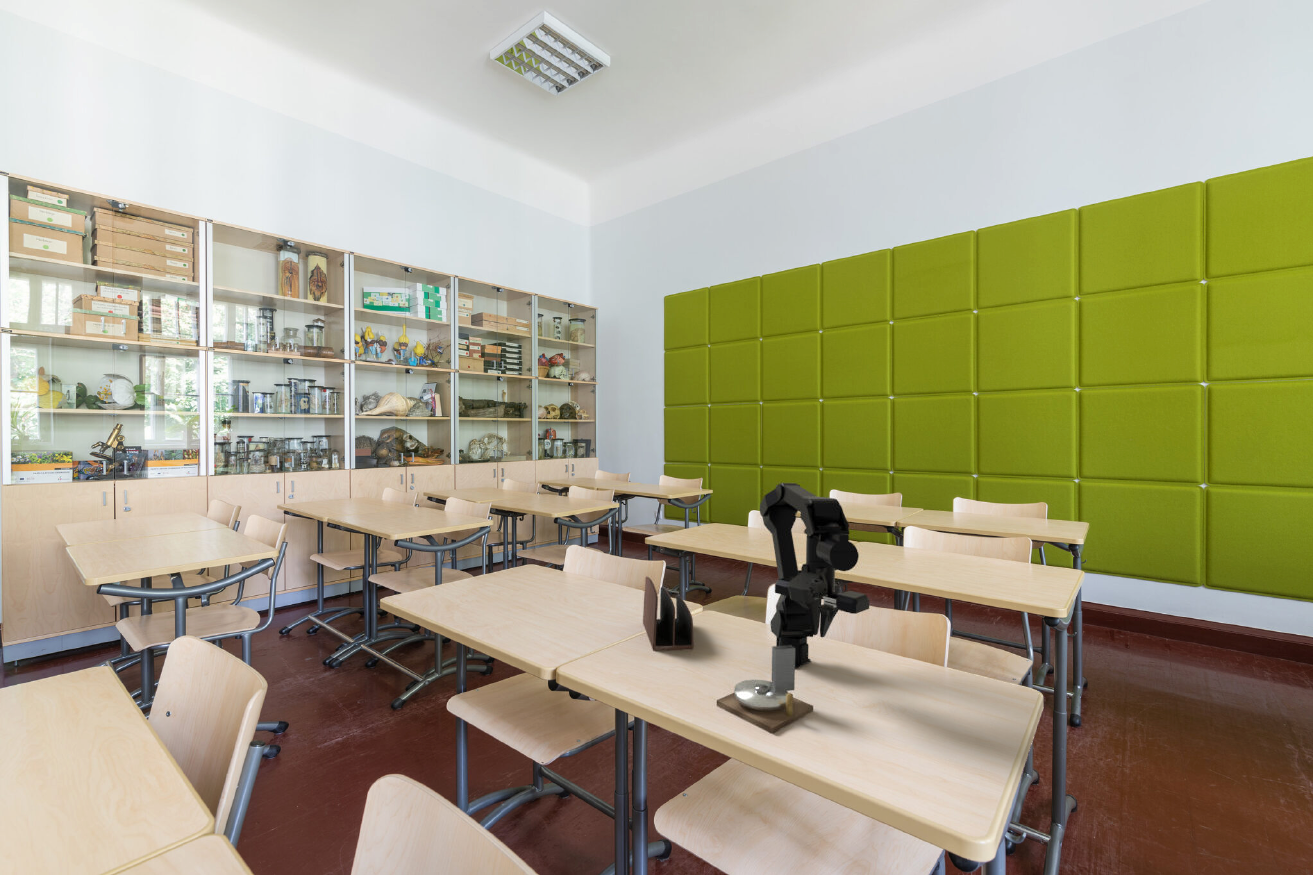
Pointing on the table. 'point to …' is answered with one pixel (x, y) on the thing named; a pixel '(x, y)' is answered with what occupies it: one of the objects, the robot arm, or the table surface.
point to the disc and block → (770, 683)
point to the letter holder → (666, 620)
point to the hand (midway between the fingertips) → (819, 635)
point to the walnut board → (767, 712)
